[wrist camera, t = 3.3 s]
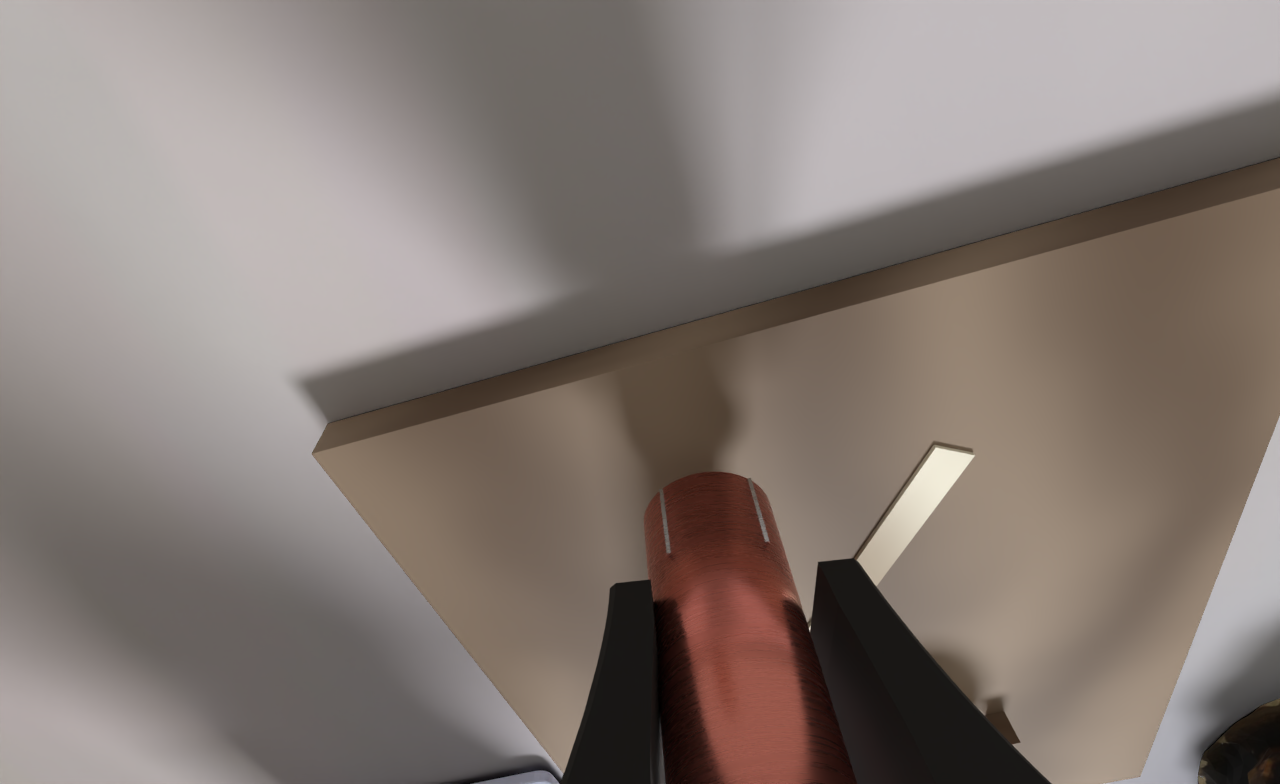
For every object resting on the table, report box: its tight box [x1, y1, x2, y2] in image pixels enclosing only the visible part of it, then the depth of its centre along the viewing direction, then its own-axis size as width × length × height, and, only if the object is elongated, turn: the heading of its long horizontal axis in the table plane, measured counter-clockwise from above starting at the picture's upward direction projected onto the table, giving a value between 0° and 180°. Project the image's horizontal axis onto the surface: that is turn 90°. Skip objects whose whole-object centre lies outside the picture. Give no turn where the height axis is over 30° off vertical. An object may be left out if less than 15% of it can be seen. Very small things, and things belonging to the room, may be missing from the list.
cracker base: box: [312, 158, 1280, 784], centre depth 18 cm, size 20×24×4 cm
